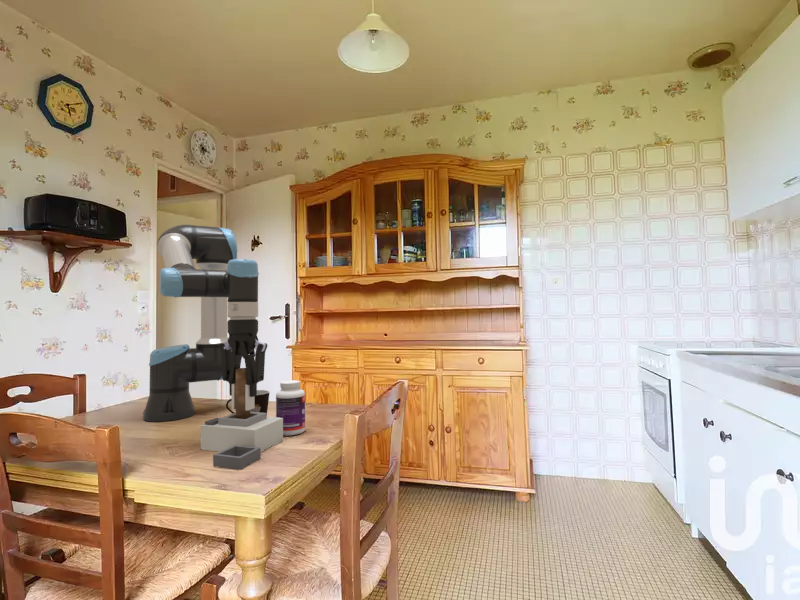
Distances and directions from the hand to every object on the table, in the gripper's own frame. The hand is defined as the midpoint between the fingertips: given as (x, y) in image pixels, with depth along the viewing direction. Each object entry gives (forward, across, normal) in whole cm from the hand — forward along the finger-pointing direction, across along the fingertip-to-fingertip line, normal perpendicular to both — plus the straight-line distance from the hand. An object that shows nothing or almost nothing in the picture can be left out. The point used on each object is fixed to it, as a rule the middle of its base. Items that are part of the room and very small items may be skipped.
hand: (243, 408), depth 108 cm
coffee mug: (+10, -10, +16) cm, 21 cm away
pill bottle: (+10, +6, +13) cm, 17 cm away
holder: (+9, +7, -11) cm, 16 cm away
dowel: (+4, 0, 0) cm, 4 cm away
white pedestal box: (+9, 0, 0) cm, 9 cm away
